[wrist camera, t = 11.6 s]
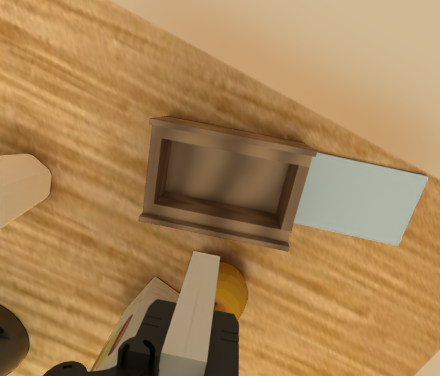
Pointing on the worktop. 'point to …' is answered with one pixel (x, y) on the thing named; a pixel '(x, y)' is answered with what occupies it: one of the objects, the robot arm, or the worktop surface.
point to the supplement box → (133, 321)
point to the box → (224, 181)
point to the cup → (21, 185)
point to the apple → (230, 290)
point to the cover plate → (359, 198)
